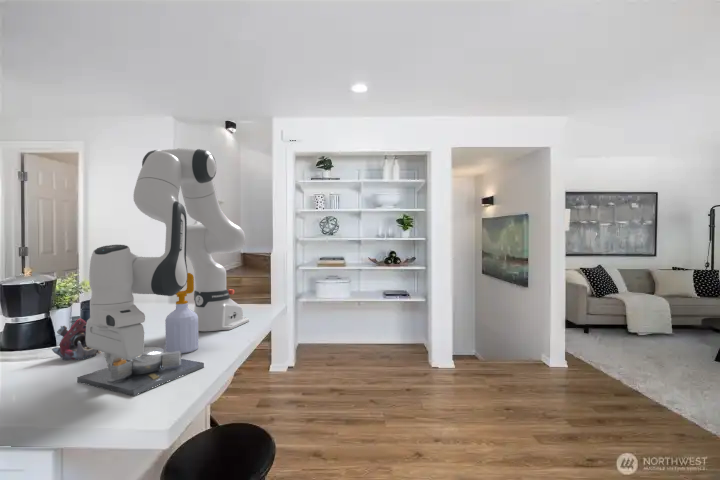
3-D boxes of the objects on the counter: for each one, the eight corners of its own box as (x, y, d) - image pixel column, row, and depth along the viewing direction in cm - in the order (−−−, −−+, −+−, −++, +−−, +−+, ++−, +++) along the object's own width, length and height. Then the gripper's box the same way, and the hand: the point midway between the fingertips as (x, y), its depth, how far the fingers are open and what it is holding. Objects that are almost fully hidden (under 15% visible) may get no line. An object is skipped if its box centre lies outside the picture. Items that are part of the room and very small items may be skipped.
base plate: (151, 357, 112) (151, 352, 112) (203, 367, 104) (203, 362, 104) (77, 382, 94) (77, 376, 94) (133, 396, 86) (133, 389, 86)
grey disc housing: (135, 359, 106) (135, 344, 106) (184, 364, 102) (183, 348, 102) (88, 377, 93) (88, 360, 93) (142, 383, 89) (141, 366, 88)
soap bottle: (161, 350, 119) (160, 270, 119) (190, 343, 126) (189, 267, 125) (173, 356, 113) (172, 272, 113) (203, 349, 120) (202, 269, 119)
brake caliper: (78, 356, 106) (58, 319, 108) (55, 377, 109) (36, 341, 111) (115, 344, 117) (96, 311, 119) (93, 364, 119) (75, 331, 121)
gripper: (77, 310, 96) (78, 366, 96) (120, 321, 85) (121, 384, 85) (105, 306, 101) (106, 359, 101) (149, 315, 90) (150, 374, 91)
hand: (113, 370), depth 93 cm, fingers closed
